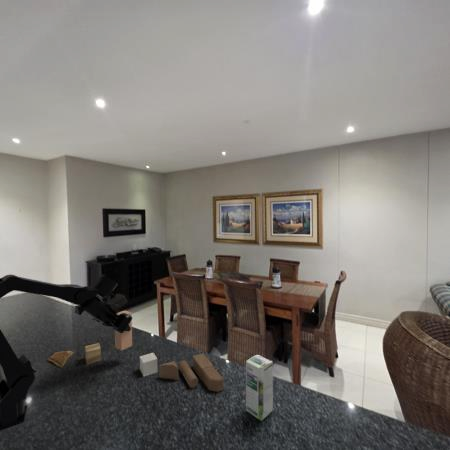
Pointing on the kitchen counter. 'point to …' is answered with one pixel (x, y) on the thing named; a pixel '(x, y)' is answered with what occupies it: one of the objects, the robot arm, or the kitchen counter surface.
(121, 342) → the terracotta block
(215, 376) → the wooden block set
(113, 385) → the kitchen counter surface
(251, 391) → the syrup box
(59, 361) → the shard
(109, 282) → the robot arm
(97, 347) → the honey oak cube
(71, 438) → the kitchen counter surface
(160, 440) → the kitchen counter surface
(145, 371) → the grey plastic cube
